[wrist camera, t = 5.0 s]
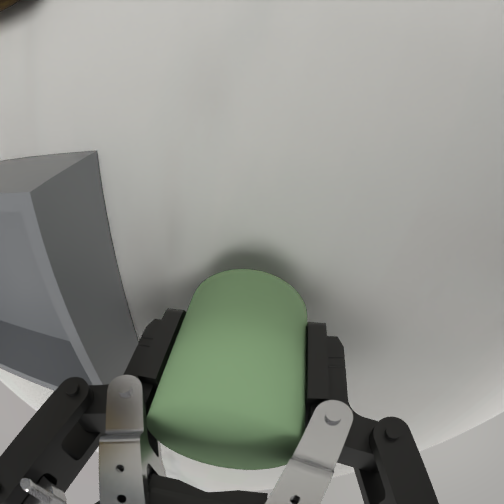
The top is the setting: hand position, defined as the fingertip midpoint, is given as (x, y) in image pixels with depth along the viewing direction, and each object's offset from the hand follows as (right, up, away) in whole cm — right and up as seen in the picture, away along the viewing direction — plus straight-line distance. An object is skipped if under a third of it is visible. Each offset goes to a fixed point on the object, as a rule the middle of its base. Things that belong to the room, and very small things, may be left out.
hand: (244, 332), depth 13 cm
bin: (-15, +3, +5) cm, 16 cm away
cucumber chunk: (0, 0, +1) cm, 1 cm away
